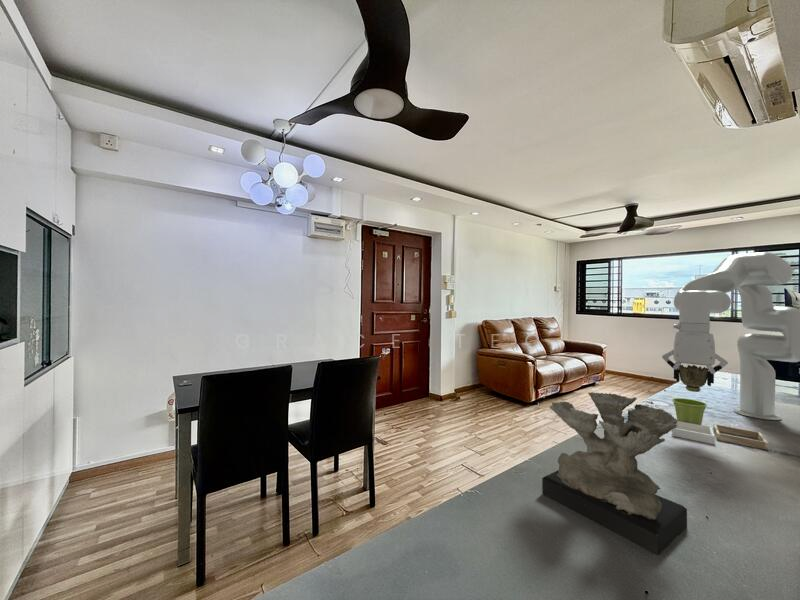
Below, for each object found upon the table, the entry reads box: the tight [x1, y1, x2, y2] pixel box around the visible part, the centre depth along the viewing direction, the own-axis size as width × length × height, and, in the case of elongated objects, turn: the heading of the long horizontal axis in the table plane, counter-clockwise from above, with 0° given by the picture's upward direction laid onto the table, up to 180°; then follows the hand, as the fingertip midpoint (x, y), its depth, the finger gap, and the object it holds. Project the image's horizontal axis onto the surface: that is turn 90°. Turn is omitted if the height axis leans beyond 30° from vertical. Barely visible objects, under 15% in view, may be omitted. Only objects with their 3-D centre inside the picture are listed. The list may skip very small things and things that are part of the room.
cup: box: [679, 364, 709, 393], centre depth 110 cm, size 8×7×8 cm
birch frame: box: [712, 423, 769, 451], centre depth 108 cm, size 11×11×2 cm
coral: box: [541, 391, 688, 556], centre depth 72 cm, size 25×20×22 cm
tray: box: [671, 421, 716, 445], centre depth 110 cm, size 10×10×2 cm
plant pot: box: [671, 397, 708, 425], centre depth 118 cm, size 9×9×9 cm
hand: (693, 382), depth 110 cm, fingers closed on cup, 7 cm apart
